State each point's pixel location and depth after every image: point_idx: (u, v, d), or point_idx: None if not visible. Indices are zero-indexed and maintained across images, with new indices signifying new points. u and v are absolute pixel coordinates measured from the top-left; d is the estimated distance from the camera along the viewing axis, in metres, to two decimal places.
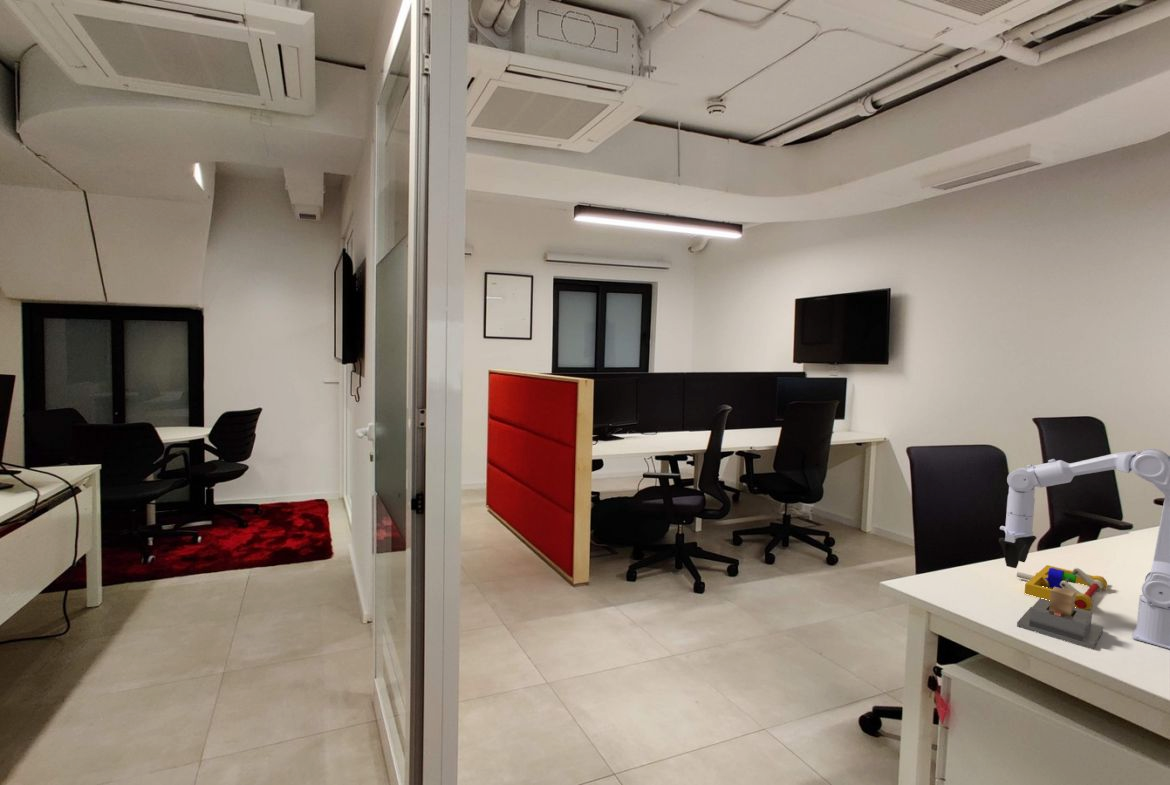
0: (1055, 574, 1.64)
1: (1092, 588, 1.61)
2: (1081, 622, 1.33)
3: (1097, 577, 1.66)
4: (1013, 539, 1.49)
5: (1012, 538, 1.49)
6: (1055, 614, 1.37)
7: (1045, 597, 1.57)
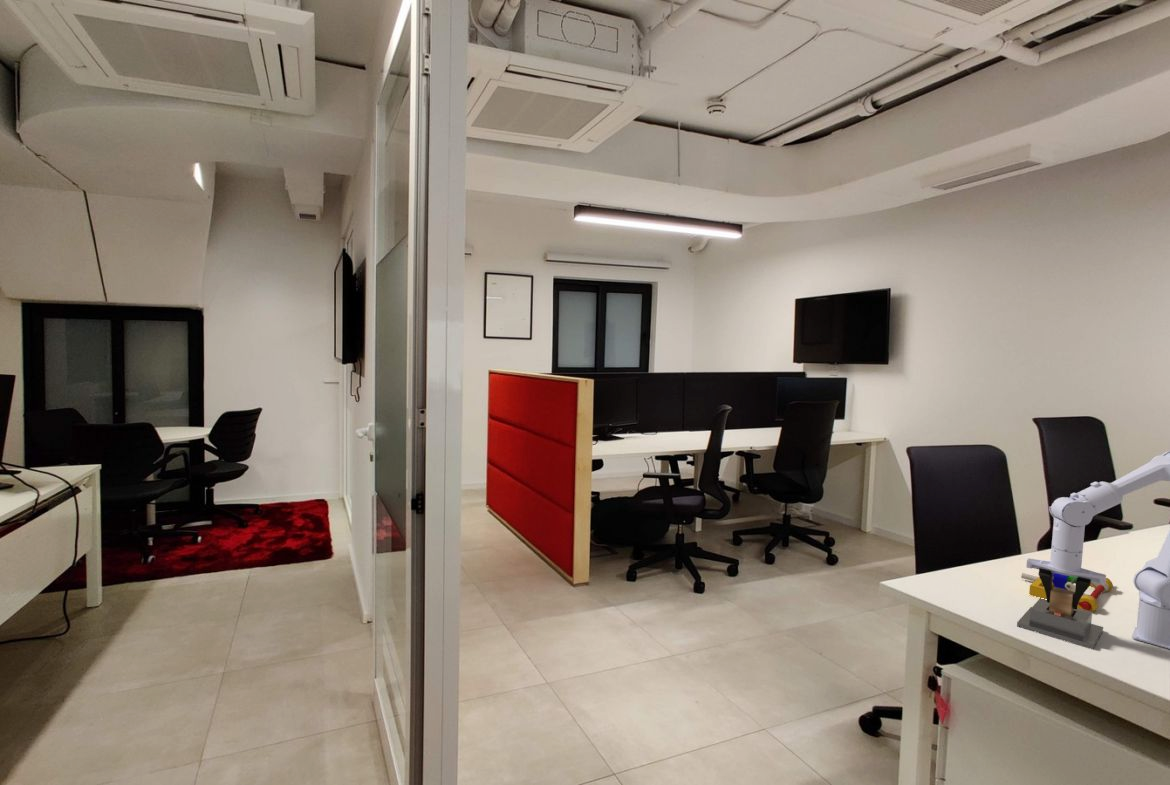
0: (1060, 575, 1.63)
1: (1097, 590, 1.60)
2: (1081, 622, 1.33)
3: None
4: None
5: None
6: (1055, 614, 1.37)
7: None
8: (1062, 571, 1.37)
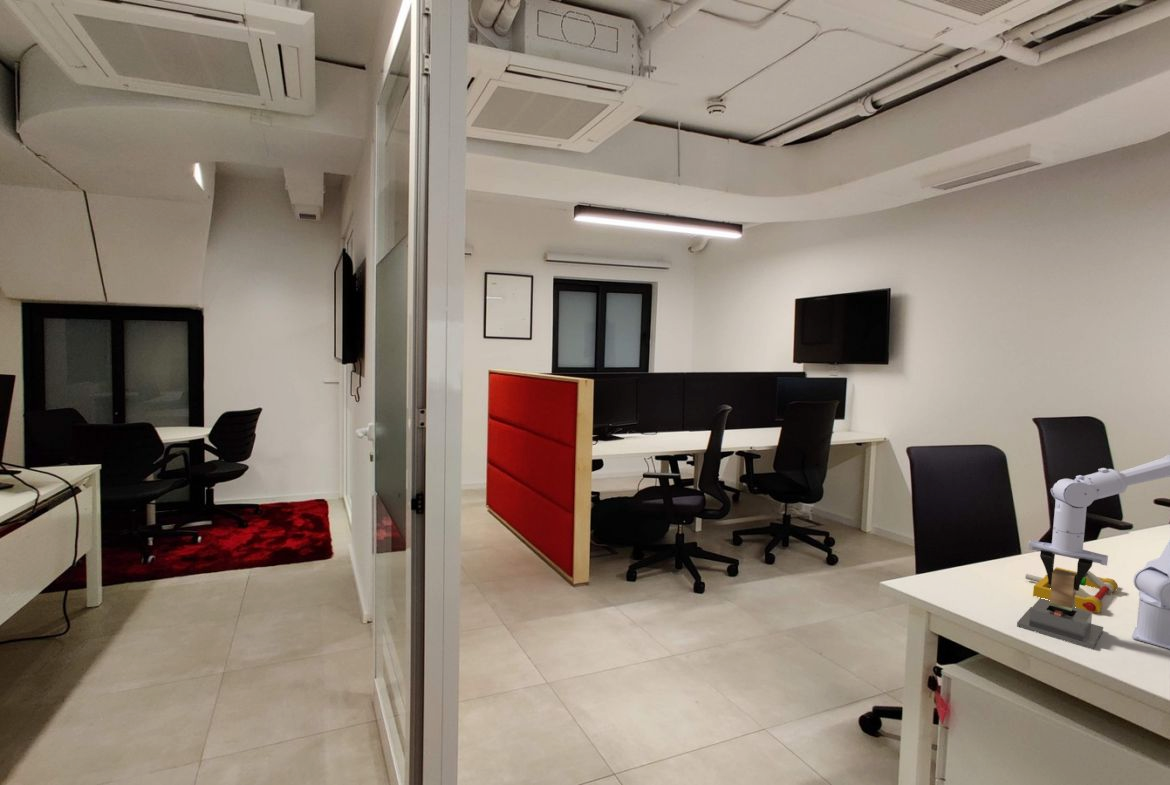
0: None
1: (1102, 591, 1.59)
2: (1081, 622, 1.33)
3: (1107, 580, 1.65)
4: (1028, 546, 1.43)
5: (1028, 545, 1.43)
6: (1055, 614, 1.37)
7: None
8: (1064, 552, 1.37)
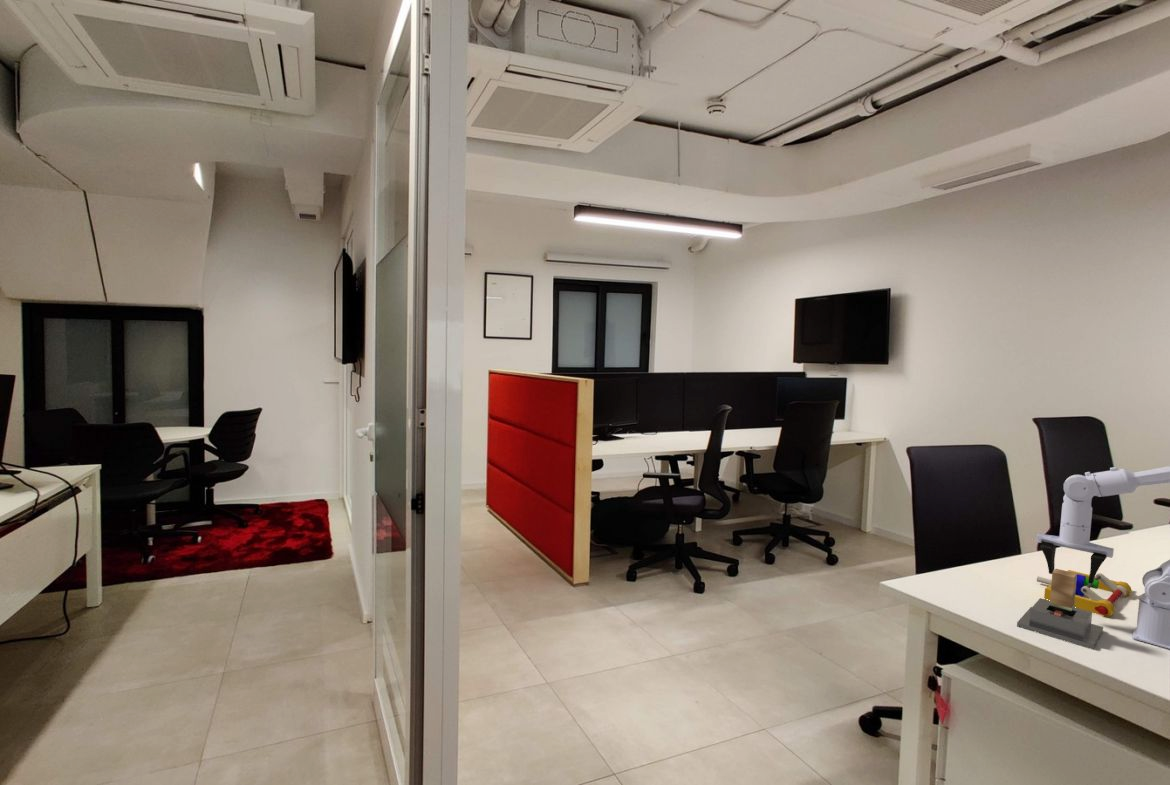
0: None
1: (1115, 594, 1.57)
2: (1081, 622, 1.33)
3: (1121, 583, 1.63)
4: None
5: (1037, 537, 1.50)
6: (1055, 614, 1.37)
7: None
8: (1070, 544, 1.43)
